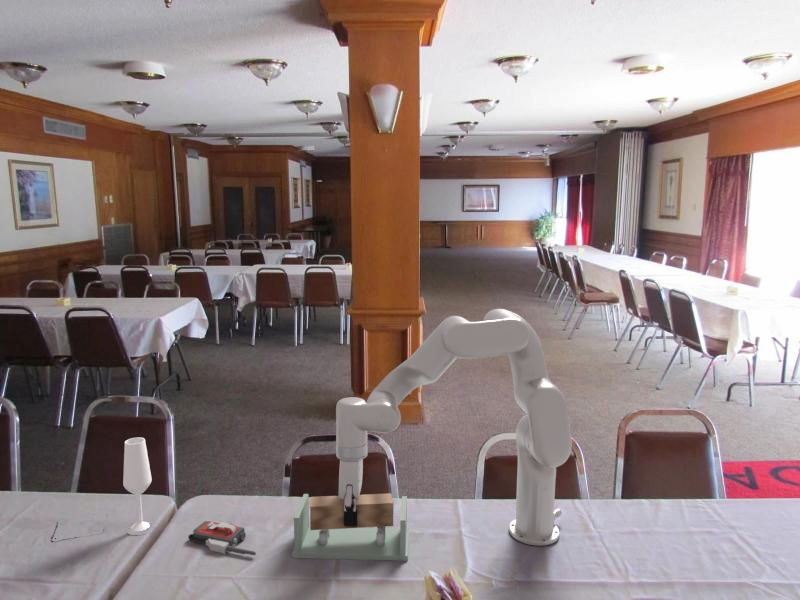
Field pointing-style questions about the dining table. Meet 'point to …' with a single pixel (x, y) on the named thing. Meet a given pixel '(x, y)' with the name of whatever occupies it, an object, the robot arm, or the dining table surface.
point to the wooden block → (369, 509)
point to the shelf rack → (349, 539)
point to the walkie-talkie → (220, 537)
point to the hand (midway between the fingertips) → (352, 518)
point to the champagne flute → (137, 475)
